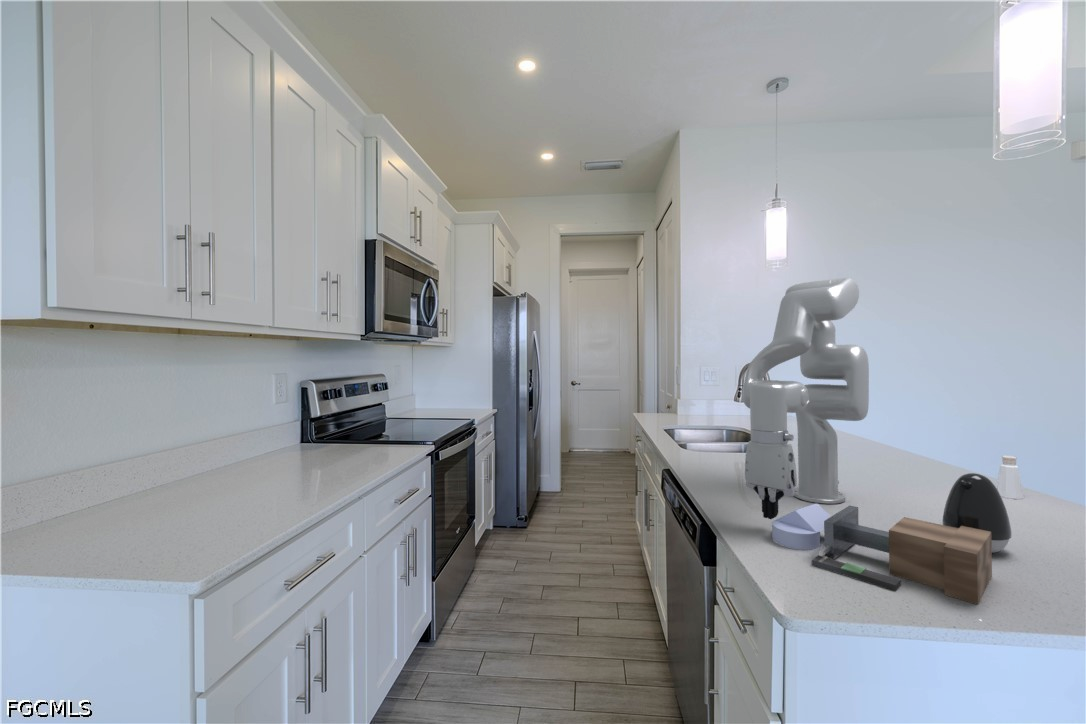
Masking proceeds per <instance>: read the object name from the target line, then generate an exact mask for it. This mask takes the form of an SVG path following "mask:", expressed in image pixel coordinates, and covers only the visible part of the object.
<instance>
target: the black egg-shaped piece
mask: <svg viewBox="0 0 1086 724" xmlns="http://www.w3.org/2000/svg"><path fill="white" fill-rule="evenodd" d="M1009 517H1010V516H1009V514H1008V511H1007V507H1006V505H1005V502H1004V500H1003V497H1001V495H1000V494H999V492H998V490H997V486H996V485H995V484H994V483H993V481H991V479H990V478H988V477H986V476H985V475H982V474H980V473H974V472H971V473H970V472H969V473H965V474H962V475H961V476H959V477H958V478H957V479H956V481H955V482H953V485H952V487H951V489H950V491H949V494H948V497H947V499H946V502H945V505H944V508H943V514H942V525H945V526H950V527H955V528H960V527H961V526H965V527H970V528H975V529H980V530H985V531H990V532H991V539H992V554H994V553H997V552H1000V551H1003V550H1004V549H1005V548H1006V547H1007V545H1008V543H1009V541H1010V539H1012V536H1013V535H1012V534H1013V533H1012V526H1011V522H1010V518H1009Z"/></svg>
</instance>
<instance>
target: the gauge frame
mask: <svg viewBox="0 0 1086 724" xmlns="http://www.w3.org/2000/svg"><path fill="white" fill-rule="evenodd" d="M888 532H889V553H888V562H889V563H888V569H889V570H888V571H889V572H888V573H889V575H886V574H883V573H879V572H877V571H872V570H869V569H867V568H866V567H863V566H860V565H857V564H854V563H853V564H852V563H850V562H846V563H845V562H843V561H839V560H835V559H831V558H828V557H826V556H825V555H824V556H820V555H819V554H818V555H816V556H815V557H814V558H812V559H811V566H814V567H818V568H821V569H824V570H827V571H831V572H834V573H837V574H840V575H843V576H845V577H850V578H853V579H856V580H859V581H863V582H865V583H869V584H871V585H875V586H879V587H882V588H885V589H887V590H888V589H889V590H891V591H894V592H896V591H898V589H899V588H900V587H901V586H902V580H901V579H900V578H902V579H906V580H909V581H913V582H915V583H920V584H923V585H926V586H930V587H933V588H937V589H940V590H944V595H945V596H947V595H948V596H949V597H951V596H952V598H954V597H955V598H954V599H957V598H958V600H961V599H962V600H961V601H964V600H965V601H964V602H967V601H968V602H969V603H971V602H972V603H971V604H974V603H976V604H975V605H979V603H980V602H981V599H982V597H983V596H984V593H985V592H984V591H986V590H985V589H987V588H986V587H988V586H987V585H989V584H988V583H990V582H989V581H991V580H992V578H993V563H992V562H993V553H992V539H991V532H990V531H985V530H980V529H975V528H970V527H965V526H961V527H960V528H955V527H950V526H945V525H943V524H940V523H935V522H930V521H926V520H920V519H915V518H911V517H902V518H901V519H900V520H899V521H898V522H896V523H895V524H894V525H893V526H891V528H888ZM890 575H892V576H890ZM894 576H895V577H894ZM897 577H900V578H897ZM991 577H992V578H991ZM990 579H991V580H990Z"/></svg>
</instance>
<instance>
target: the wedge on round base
mask: <svg viewBox="0 0 1086 724" xmlns="http://www.w3.org/2000/svg"><path fill="white" fill-rule="evenodd" d="M830 517H831V515H830V514H829V513H828V512H827V510H825V509H824V508H823V507H822V506H821V505H819V503H814V504H811V505H808V506H805V507H802V508H798V509H794V510H793V511H791V512H789V513H787V514H784V515H783V516H780V517H779V518H776V519H774V520H773V521H772V522H771V533H772V534H771V535H772V537H771V538H773V539H772V541H773V542H774V543H776V542H777V543H776V544H778V545H780V546H782V545H783V547H786V548H788V547H789V548H788V549H793V550H798V549H799V550H800V551H801V550H802V551H812V550H813V549H814V550H816V549H817V550H818V549H819V548H820V547H821V532H822V531H824V521H825V520H826V519H828V518H830Z"/></svg>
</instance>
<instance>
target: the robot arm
mask: <svg viewBox="0 0 1086 724" xmlns="http://www.w3.org/2000/svg"><path fill="white" fill-rule="evenodd" d="M859 298H860V289H859V285H858V284H857V282H856V280H855V279H853V278H849V277H842V278H841V277H840V278H833V279H825V280H815V281H807V282H802V283H801V282H800V283H798V284H794V285H791V286H789V287H788V288H787V289H786V290H785V295H784V296H782V298H781V301H780V304H779V309H778V314H777V318H776V324H775V328H774V332H773V337H772V340H771V342H770V343H769V344H768V345H766V346H765V347H763V348H762V350H761V351H760V352H758V353H757V355H756V356H754V358H753V359H752V360H751V361H750V363H749V365H748V366H747V369H746V371H745V372H746V373H745V378H744V381H743V386H742V395H741V396H742V401H743V403H744V405H745V406H746V407H747V409H749V410H750V412H749V413H750V414H749V415H750V418H749V419H750V421H749V422H750V440H748V443H747V445H746V452H745V459H744V460H745V461H744V478H745V486H746V487H747V488H749V489H751V490H754V491H755V492H756V493H757V495H758V498H759V499H760V500H761V513H763V514H762V516H763V519H768V520H773V519H774V518H776V517H777V516H778V514H779V501H780V500H781V499H782V498H783V497H793V496H794V497H795V498H798V499H800V500H801V501H806V502H810V503H814V504H825V505H826V504H827V505H829V504H831V505H834V504H841V503H844V502H845V501H846V495H844V493H842V492H839V484H840V481H839V466H838V465H839V464H838V463H839V462H838V461H839V460H838V458H839V457H838V455H839V454H838V434H837V432H836V430H835V428H834V427H833V426H832V425H831V424H830V422H829V421H828V420H831V421H832V420H833V421H834V420H835V421H846V422H858V421H862V420H865V418H867V416H868V411H869V403H870V393H869V392H870V390H869V389H870V388H869V387H870V386H869V385H870V384H869V383H870V381H869V378H870V377H869V376H870V374H869V372H870V371H869V370H870V368H869V357H868V354H867V352H866V350H865V348H863V347H862V346H860V345H858V344H837V343H836V327H835V325H834V323H833V322H832V321H837V320H841V319H844V318H845V317H846V316H847V315H848V314H849V313H850V312H852V311H853V309H854V308H855V307H856V306H857V304H858V302H859ZM797 357H799V366H800V372H801V375H802V376H803V377H804V378H807V379H810V380H811V379H812V380H828V381H829V380H830V381H831V380H832V381H835V380H836V381H844V382H846V384H829V383H827V384H826V383H823V384H821V383H813V384H811V383H810V384H809V383H808V384H804V383H802V382H799V381H794V380H776V379H775V380H774V379H773V380H772V379H771V380H768V379H767V380H766V379H764V378H765V376H766V374H768V372H769V371H770V370H772V369H773V368H775V367H776V366H778V365H780V364H782V363H783V364H784V363H785V362H787V361H790V360H792V359H796V358H797ZM763 379H764V380H763ZM789 413H790V414H793V413H794V414H795V417H796V427H797V459H798V463H797V465H798V466H797V465H796V458H795V453H794V450H793V449H794V448H793V445H792V444H791V443H789V442H790V441H792V442H793V441H794V435H793V434H790V433H789V430H788V414H789ZM797 469H798V470H797ZM797 471H798V472H797ZM797 473H798V474H797ZM797 476H798V478H797ZM797 484H798V487H797Z"/></svg>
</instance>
